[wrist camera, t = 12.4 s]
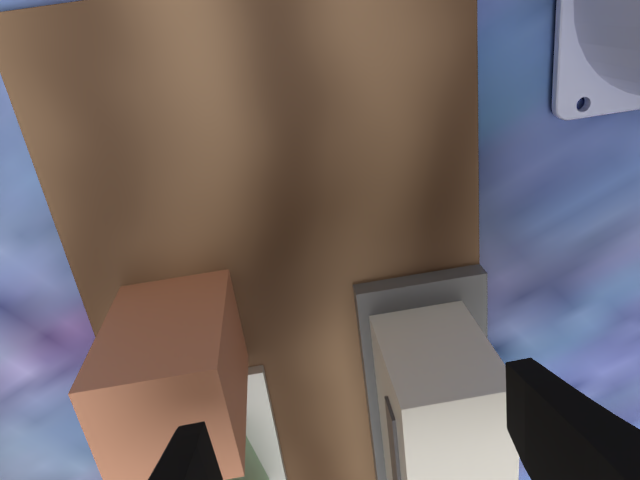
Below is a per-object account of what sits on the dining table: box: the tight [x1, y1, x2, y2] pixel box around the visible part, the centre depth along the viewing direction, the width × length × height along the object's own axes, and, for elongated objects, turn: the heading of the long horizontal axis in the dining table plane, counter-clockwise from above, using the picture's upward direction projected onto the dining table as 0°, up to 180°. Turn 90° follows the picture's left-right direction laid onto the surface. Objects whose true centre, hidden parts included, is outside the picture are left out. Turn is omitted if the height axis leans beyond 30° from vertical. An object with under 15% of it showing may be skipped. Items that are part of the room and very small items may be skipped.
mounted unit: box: [353, 264, 519, 480], centre depth 21 cm, size 5×12×6 cm, turn 8°
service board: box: [0, 0, 479, 480], centre depth 22 cm, size 15×23×1 cm, turn 7°
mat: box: [246, 365, 287, 480], centre depth 24 cm, size 6×9×1 cm, turn 7°
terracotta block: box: [68, 269, 248, 480], centre depth 18 cm, size 4×4×6 cm
